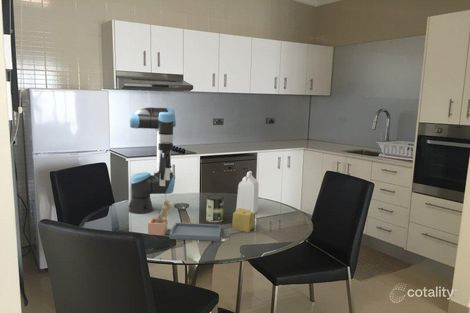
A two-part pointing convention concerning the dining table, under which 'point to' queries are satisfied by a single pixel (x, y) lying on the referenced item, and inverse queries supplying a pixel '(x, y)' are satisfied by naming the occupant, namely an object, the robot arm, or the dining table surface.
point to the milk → (248, 193)
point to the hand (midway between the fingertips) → (164, 182)
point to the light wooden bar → (164, 211)
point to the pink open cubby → (157, 227)
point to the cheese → (243, 220)
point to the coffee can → (214, 208)
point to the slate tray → (195, 231)
